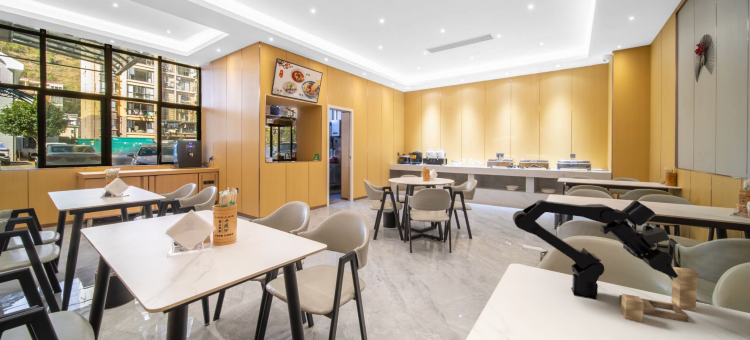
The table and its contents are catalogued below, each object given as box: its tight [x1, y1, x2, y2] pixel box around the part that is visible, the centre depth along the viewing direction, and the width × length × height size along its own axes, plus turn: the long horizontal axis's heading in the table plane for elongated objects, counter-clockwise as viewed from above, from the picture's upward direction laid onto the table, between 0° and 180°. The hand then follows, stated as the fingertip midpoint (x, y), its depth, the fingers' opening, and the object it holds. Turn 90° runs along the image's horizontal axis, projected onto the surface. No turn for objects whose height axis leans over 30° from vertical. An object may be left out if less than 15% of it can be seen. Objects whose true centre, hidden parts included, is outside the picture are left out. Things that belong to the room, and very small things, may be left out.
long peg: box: [670, 266, 698, 312], centre depth 94 cm, size 4×4×12 cm
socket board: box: [619, 294, 689, 322], centre depth 93 cm, size 14×8×2 cm, turn 64°
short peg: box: [620, 293, 644, 323], centre depth 89 cm, size 4×4×6 cm
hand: (667, 271), depth 96 cm, fingers open, 9 cm apart
